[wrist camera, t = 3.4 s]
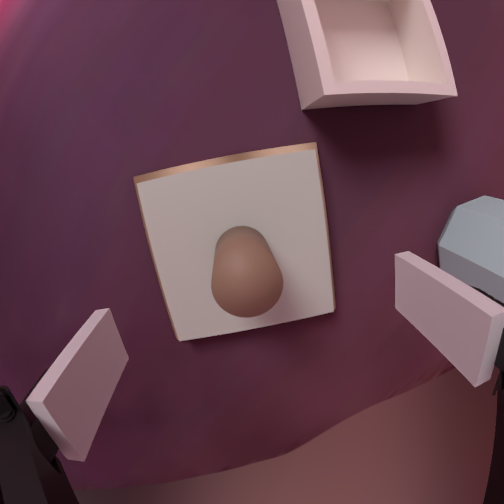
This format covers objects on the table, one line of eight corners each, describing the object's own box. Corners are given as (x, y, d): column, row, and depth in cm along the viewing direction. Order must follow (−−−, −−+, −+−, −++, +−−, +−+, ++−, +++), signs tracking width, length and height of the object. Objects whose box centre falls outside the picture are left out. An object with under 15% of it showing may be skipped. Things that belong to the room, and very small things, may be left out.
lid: (181, 333, 24) (167, 391, 17) (141, 182, 21) (103, 192, 14) (329, 305, 24) (363, 354, 17) (310, 149, 21) (348, 145, 14)
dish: (301, 109, 21) (324, 94, 15) (275, -5, 18) (287, -42, 12) (416, 104, 21) (457, 95, 16) (388, 0, 18) (419, -25, 13)
